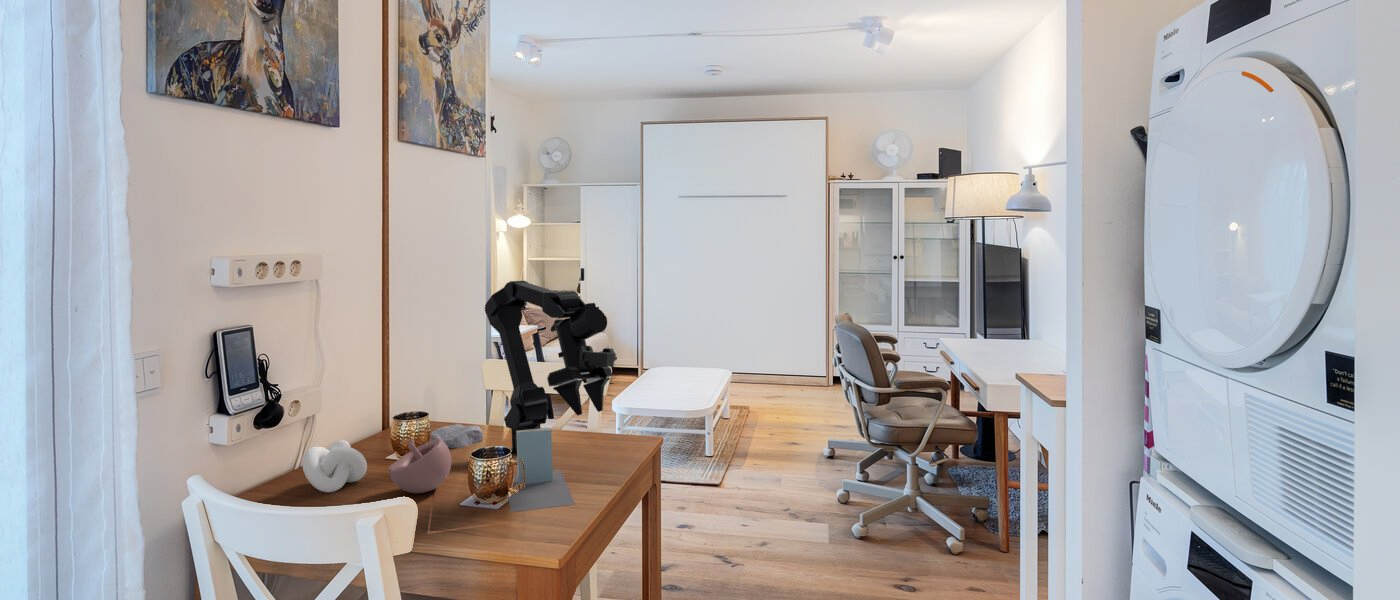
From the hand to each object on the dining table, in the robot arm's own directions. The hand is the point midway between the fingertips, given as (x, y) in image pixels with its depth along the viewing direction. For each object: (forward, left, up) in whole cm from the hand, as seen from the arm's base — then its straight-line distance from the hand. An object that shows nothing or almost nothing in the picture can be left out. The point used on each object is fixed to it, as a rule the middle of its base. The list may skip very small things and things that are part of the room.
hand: (590, 413), depth 153 cm
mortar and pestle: (-30, -18, -14) cm, 38 cm away
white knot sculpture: (-51, -18, -14) cm, 56 cm away
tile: (-9, -9, -13) cm, 18 cm away
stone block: (-44, +16, -14) cm, 49 cm away
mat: (-7, -13, -13) cm, 20 cm away
